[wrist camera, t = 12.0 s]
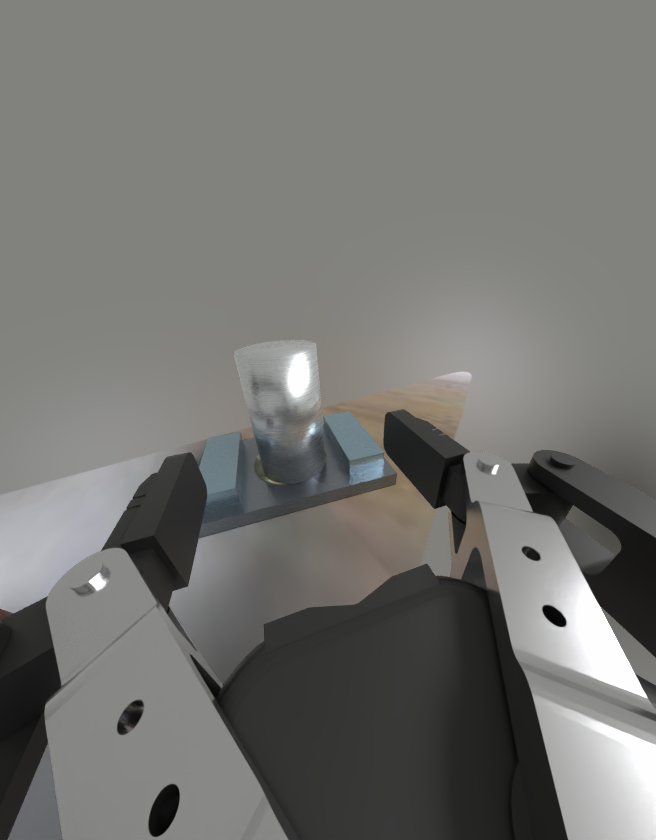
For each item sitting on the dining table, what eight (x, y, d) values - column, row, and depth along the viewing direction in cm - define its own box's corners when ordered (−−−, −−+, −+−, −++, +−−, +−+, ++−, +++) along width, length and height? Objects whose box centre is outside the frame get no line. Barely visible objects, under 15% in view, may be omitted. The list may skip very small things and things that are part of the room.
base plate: (189, 540, 16) (173, 513, 15) (210, 456, 25) (202, 434, 23) (395, 484, 20) (398, 457, 18) (352, 427, 28) (352, 406, 27)
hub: (264, 491, 18) (230, 362, 13) (261, 447, 23) (236, 344, 18) (333, 474, 19) (325, 350, 14) (315, 436, 24) (305, 336, 20)
